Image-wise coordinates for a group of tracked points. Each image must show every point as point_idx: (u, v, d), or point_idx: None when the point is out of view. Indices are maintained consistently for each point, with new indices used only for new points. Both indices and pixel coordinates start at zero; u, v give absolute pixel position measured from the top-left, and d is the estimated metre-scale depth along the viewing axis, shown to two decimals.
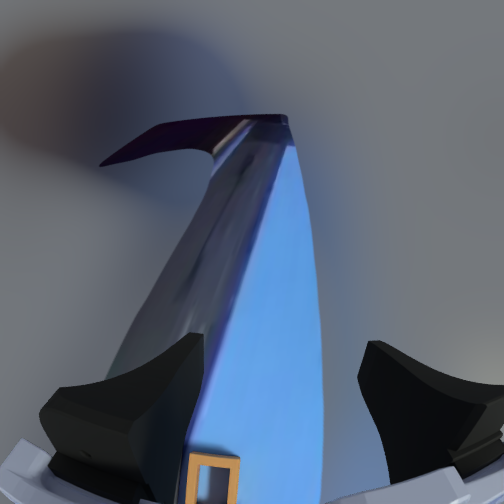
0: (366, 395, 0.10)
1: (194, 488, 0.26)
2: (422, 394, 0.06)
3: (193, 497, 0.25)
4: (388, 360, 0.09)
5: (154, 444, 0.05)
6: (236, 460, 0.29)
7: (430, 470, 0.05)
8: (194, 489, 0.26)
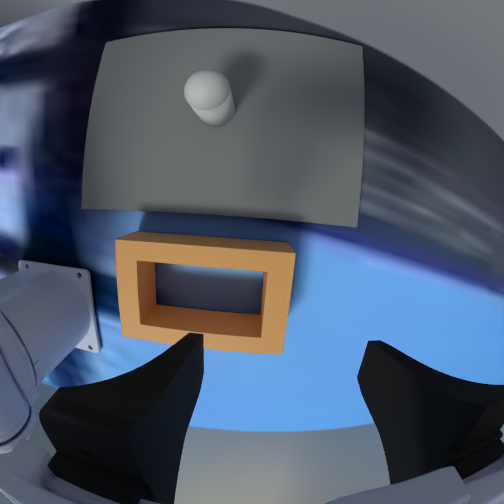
0: (366, 395, 0.10)
1: (199, 263, 0.16)
2: (422, 394, 0.06)
3: (173, 261, 0.16)
4: (388, 360, 0.09)
5: (154, 444, 0.05)
6: (280, 348, 0.17)
7: (430, 470, 0.05)
8: (196, 263, 0.16)
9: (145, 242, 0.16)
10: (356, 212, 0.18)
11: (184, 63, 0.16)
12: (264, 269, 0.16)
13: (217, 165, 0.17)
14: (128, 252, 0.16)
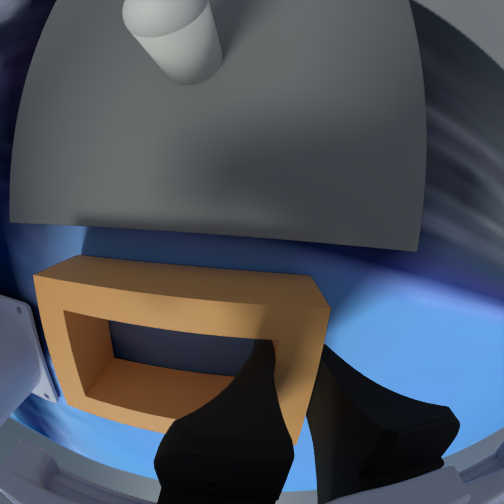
0: None
1: (156, 323, 0.09)
2: (342, 405, 0.06)
3: (114, 317, 0.08)
4: (319, 363, 0.09)
5: None
6: (294, 438, 0.10)
7: (344, 492, 0.05)
8: (151, 323, 0.09)
9: (71, 282, 0.08)
10: (417, 228, 0.10)
11: None
12: (273, 336, 0.09)
13: (191, 147, 0.10)
14: (51, 296, 0.08)
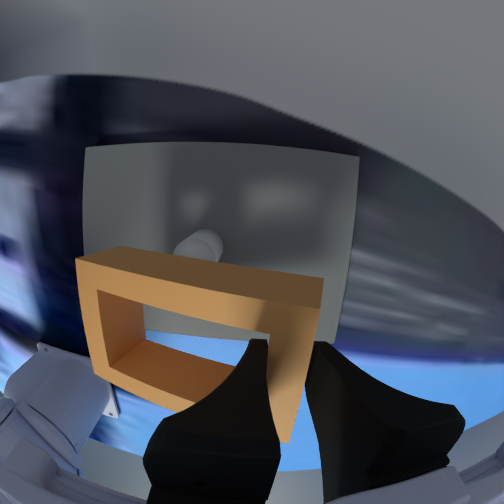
0: (309, 398, 0.10)
1: (167, 306, 0.10)
2: (349, 404, 0.06)
3: (135, 298, 0.10)
4: (325, 363, 0.09)
5: None
6: (286, 436, 0.10)
7: (351, 491, 0.05)
8: (163, 305, 0.10)
9: (104, 266, 0.11)
10: (334, 332, 0.20)
11: (169, 188, 0.18)
12: (264, 330, 0.09)
13: None
14: (88, 277, 0.11)
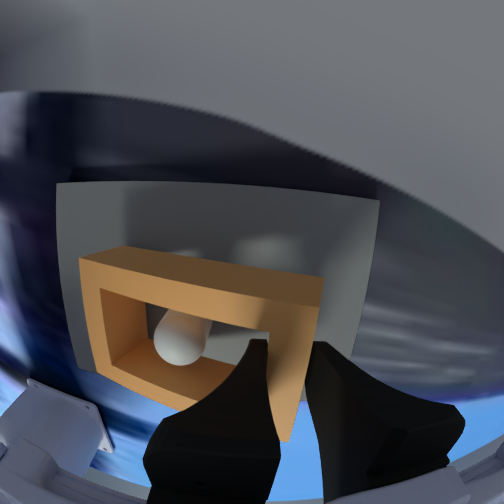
0: (309, 398, 0.10)
1: (168, 305, 0.10)
2: (348, 404, 0.06)
3: (137, 296, 0.11)
4: (325, 363, 0.09)
5: None
6: (286, 435, 0.10)
7: (351, 491, 0.05)
8: (165, 304, 0.10)
9: (107, 265, 0.11)
10: None
11: (151, 238, 0.15)
12: (264, 328, 0.09)
13: None
14: (91, 276, 0.11)
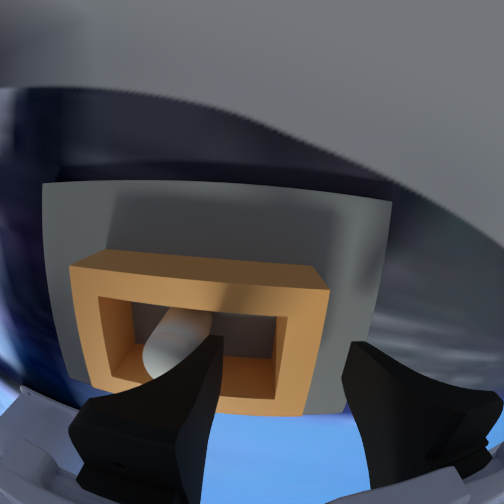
0: (349, 396, 0.10)
1: (184, 304, 0.10)
2: (401, 398, 0.06)
3: (147, 300, 0.10)
4: (370, 361, 0.09)
5: (190, 451, 0.05)
6: (300, 409, 0.12)
7: (408, 478, 0.05)
8: (180, 304, 0.11)
9: (107, 271, 0.10)
10: (343, 403, 0.16)
11: (141, 243, 0.13)
12: (283, 313, 0.10)
13: None
14: (86, 284, 0.10)
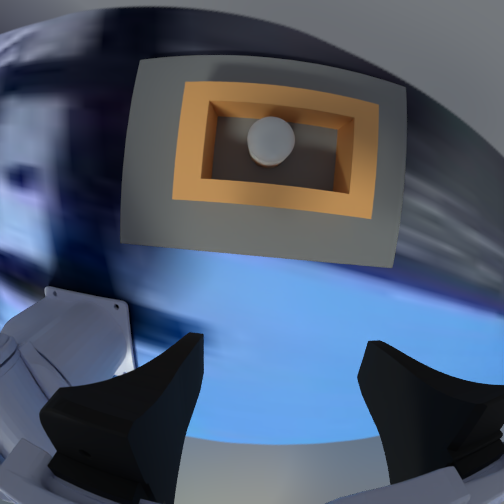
0: (366, 395, 0.10)
1: (283, 103, 0.13)
2: (422, 394, 0.06)
3: (254, 100, 0.13)
4: (388, 360, 0.09)
5: (154, 444, 0.05)
6: (369, 210, 0.14)
7: (430, 470, 0.05)
8: (280, 103, 0.13)
9: (222, 82, 0.13)
10: (393, 254, 0.18)
11: None
12: (351, 115, 0.13)
13: (268, 208, 0.18)
14: (200, 93, 0.13)
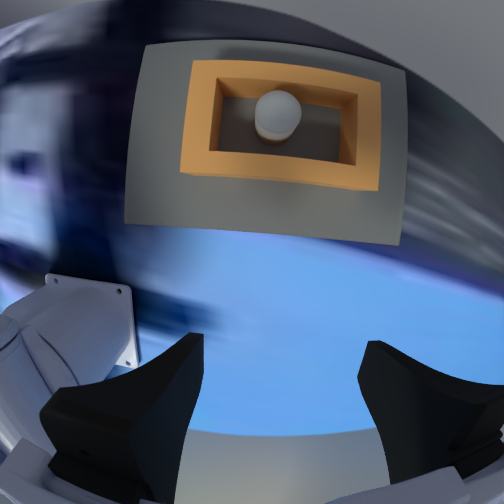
0: (366, 395, 0.10)
1: (289, 80, 0.13)
2: (422, 394, 0.06)
3: (261, 76, 0.13)
4: (388, 360, 0.09)
5: (154, 444, 0.05)
6: (375, 182, 0.14)
7: (430, 470, 0.05)
8: (285, 80, 0.13)
9: (229, 61, 0.13)
10: (399, 232, 0.18)
11: None
12: (354, 91, 0.13)
13: (274, 185, 0.18)
14: (207, 70, 0.13)
